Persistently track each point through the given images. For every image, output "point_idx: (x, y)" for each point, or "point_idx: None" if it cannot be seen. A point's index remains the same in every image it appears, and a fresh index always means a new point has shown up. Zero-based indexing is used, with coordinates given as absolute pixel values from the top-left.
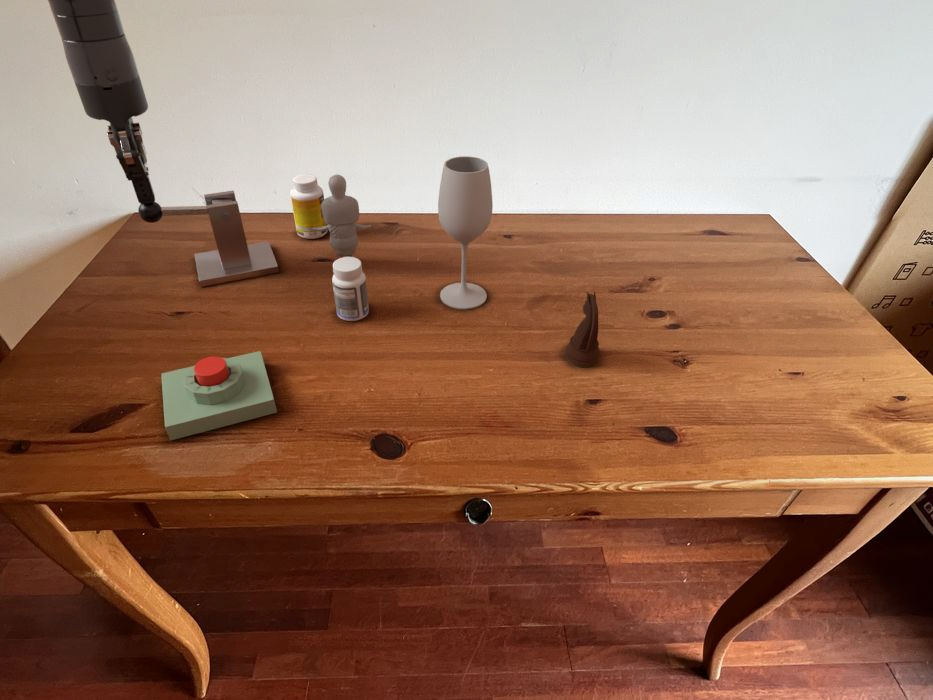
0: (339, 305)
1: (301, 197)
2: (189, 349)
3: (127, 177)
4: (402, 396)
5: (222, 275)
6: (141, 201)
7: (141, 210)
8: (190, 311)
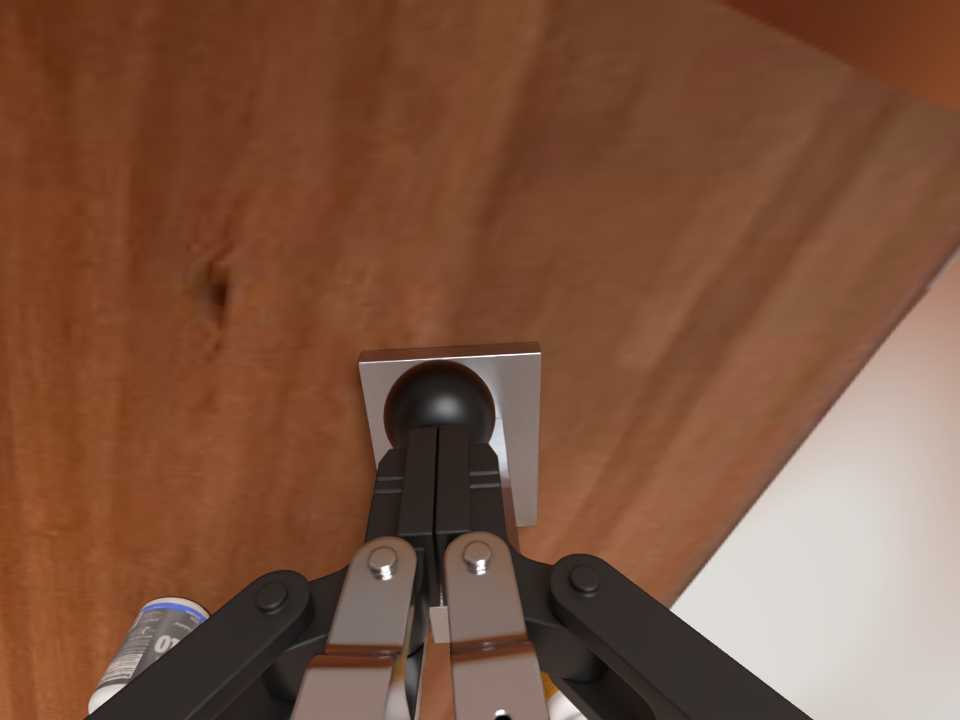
0: (130, 635)
1: (556, 705)
2: (22, 316)
3: (216, 613)
4: None
5: (373, 420)
6: (387, 451)
7: (399, 403)
8: (226, 321)
